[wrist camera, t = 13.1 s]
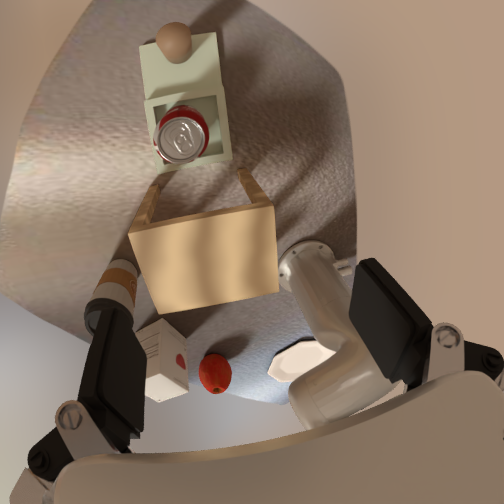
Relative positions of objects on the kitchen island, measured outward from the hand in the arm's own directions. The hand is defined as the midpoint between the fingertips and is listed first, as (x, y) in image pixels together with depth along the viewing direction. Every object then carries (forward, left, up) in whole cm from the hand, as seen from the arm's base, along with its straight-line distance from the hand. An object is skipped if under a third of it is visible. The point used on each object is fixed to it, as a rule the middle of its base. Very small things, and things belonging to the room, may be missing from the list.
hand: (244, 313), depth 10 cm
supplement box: (+18, +38, -36) cm, 56 cm away
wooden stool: (+2, +10, -36) cm, 37 cm away
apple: (+8, +50, -36) cm, 62 cm away
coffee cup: (+20, +19, -36) cm, 45 cm away
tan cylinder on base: (+2, -8, -36) cm, 37 cm away
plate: (-16, +60, -37) cm, 72 cm away
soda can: (+3, -5, -36) cm, 36 cm away
